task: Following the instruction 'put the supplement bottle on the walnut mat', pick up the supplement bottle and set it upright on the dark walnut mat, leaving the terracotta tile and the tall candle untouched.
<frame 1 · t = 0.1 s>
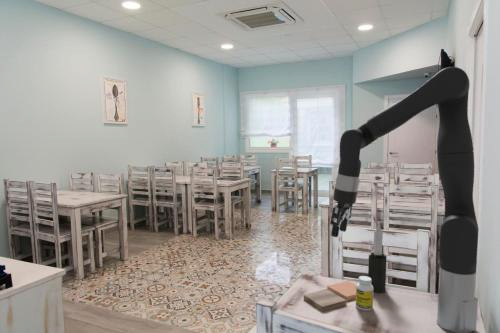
hand: (338, 233, 124), 22 cm above the table, tool pointing down, fingers open, 8 cm apart
walnut mat: (324, 301, 122), on the table
supplement bottle: (364, 307, 118), on the table
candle: (376, 290, 131), on the table
terracotta tile: (347, 292, 129), on the table
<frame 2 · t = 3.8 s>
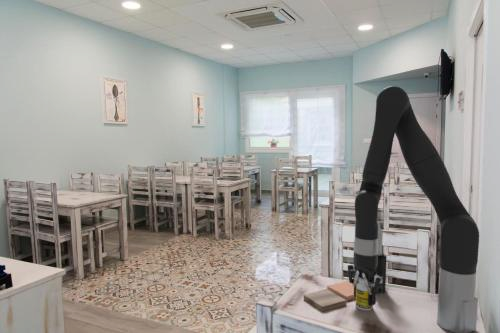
hand: (364, 301, 118), 2 cm above the table, tool pointing down, fingers closed on supplement bottle, 5 cm apart
supplement bottle: (364, 307, 118), on the table, touching gripper
everything else where it was.
when the fingers open (4 cm above the table, at t = 9.3 s): supplement bottle stays where it is, resting on walnut mat.
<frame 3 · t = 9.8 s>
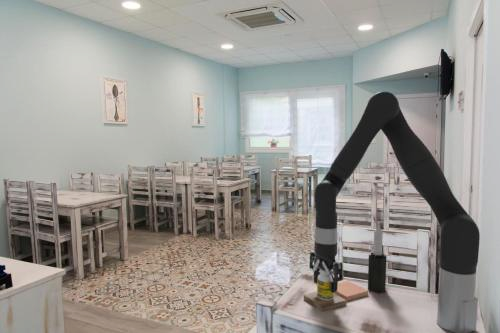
hand: (324, 287, 121), 5 cm above the table, tool pointing down, fingers open, 8 cm apart
supplement bottle: (325, 298, 121), point 1 cm above the table, touching walnut mat
everything else where it was.
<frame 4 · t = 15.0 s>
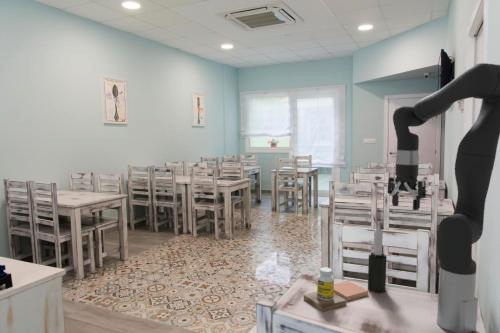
hand: (405, 207, 130), 30 cm above the table, tool pointing down, fingers open, 8 cm apart
nothing on the table moved.
at the end: supplement bottle 0.2 cm off-centre on the walnut mat, point 1.3 cm above the walnut mat's base; supplement bottle tilted 0°; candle moved 0.2 cm from its start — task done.
